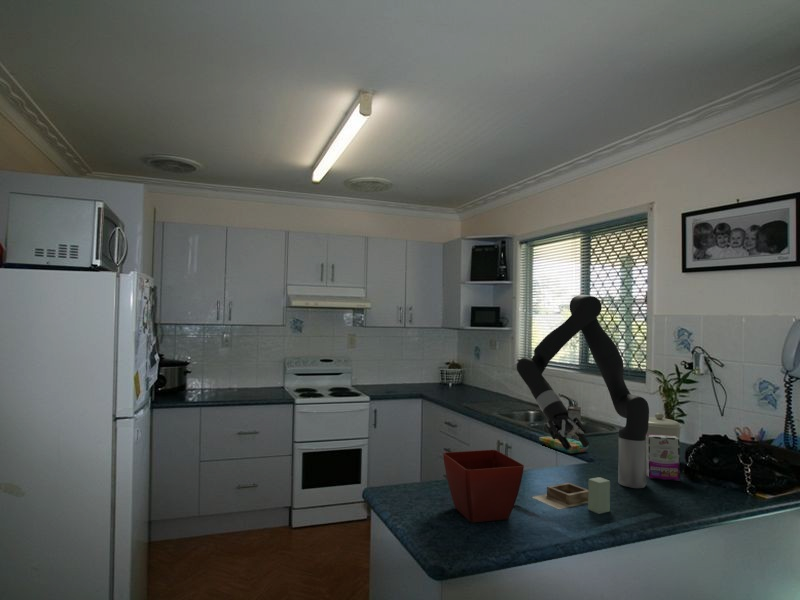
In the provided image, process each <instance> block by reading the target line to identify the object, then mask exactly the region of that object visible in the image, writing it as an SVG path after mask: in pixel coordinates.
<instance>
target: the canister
mask: <svg viewBox="0 0 800 600" xmlns="http://www.w3.org/2000/svg"><path fill="white" fill-rule="evenodd" d="M682 427H683V425H682V424H681V423H680V422H678V421H676V420H673V419H669V418H665V417H664V413H662V412H656V413H654V417H653V416H649V424H648V432H647V434H649V435H666V436H677V437H678V438H679V439H680V436H681V430H682V429H681V428H682Z"/></svg>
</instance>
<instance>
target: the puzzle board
mask: <svg viewBox="0 0 800 600" xmlns="http://www.w3.org/2000/svg"><path fill="white" fill-rule="evenodd" d="M531 498H533V499H534V500H536V501H539V502H540V503H543V504H546V505H548V506H550V507H553V508H555V509H557V510H563V509H568V508H571V507H577V506H581V505H587V504H588V489H587V488H584V487H582V486H579V485H577V484H574V483H570V482H565V483H559V484H554V485H548V486H546V493H545V494H540V495H535V496H532V497H531Z"/></svg>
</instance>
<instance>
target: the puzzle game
mask: <svg viewBox="0 0 800 600" xmlns="http://www.w3.org/2000/svg"><path fill="white" fill-rule="evenodd" d="M566 439H567V440H568V442H569V443H570V445H571V448H570V449H569V450H566V449H565V448H564V447H563V445H562V444H561V442H560V441H559V440H557V439H555V440H554V439H553V438H552V436H551V435H547V436H540V437H538V440H539V441H540V442H542V443H544V445H545V446H546V447H549V448H551V449H555V450H557V451H561V452H564V453H567V454H578V453H585V452H586V451H587V450H588V449H589V445H588V446H587V447H583V445H582V444H581V442H580V441H576V440H574V439H569V438H567V437H566Z"/></svg>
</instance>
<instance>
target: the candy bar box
mask: <svg viewBox="0 0 800 600" xmlns="http://www.w3.org/2000/svg"><path fill="white" fill-rule="evenodd" d="M680 455H681V454H680V437H679V438H678V437H677V436H666V435H649V434H646V460H647V478H649V479H650V480H663V481H673V482H674V481H675V482H679V481H680V482H681V479H680V478H681V473H680V471H681V470H680V469H681V468H680V465H681V464H680V462H681V461H680Z"/></svg>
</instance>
